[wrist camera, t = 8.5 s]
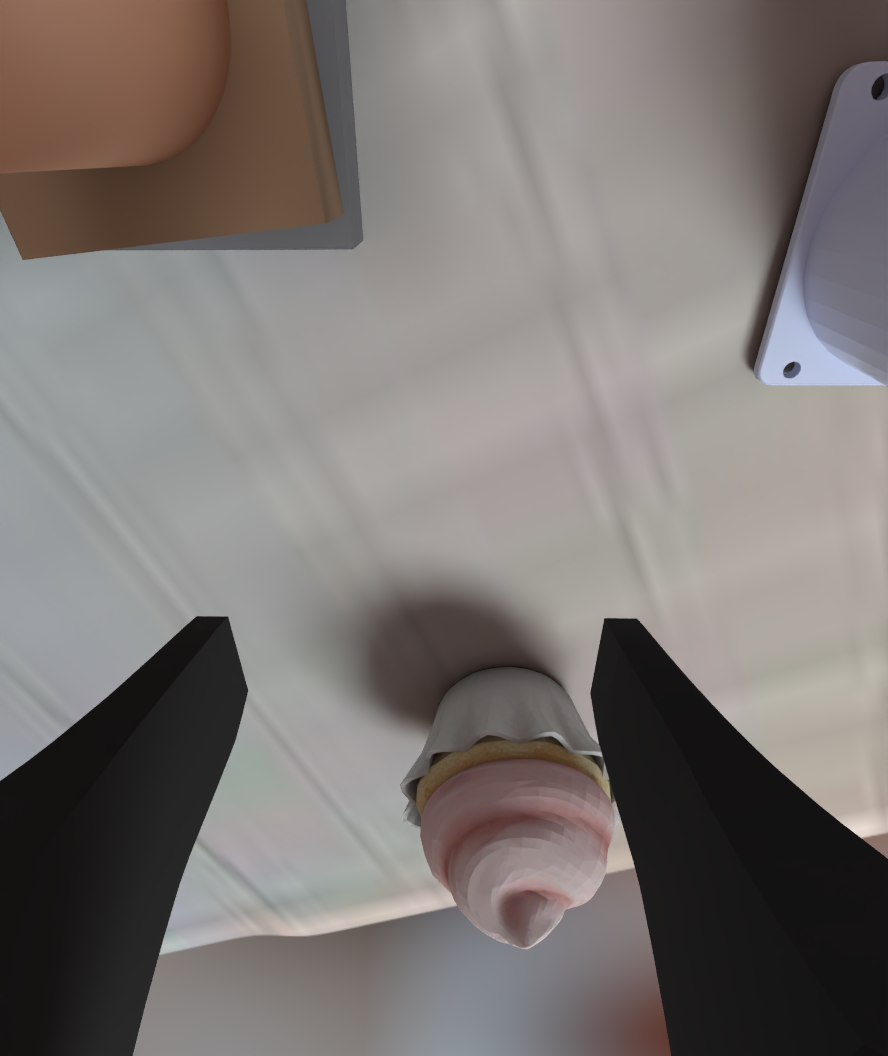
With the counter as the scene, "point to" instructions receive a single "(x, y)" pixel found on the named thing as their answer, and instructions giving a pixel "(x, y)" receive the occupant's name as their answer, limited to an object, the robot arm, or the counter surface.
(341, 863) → the counter surface
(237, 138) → the walnut slab
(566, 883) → the cupcake
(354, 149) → the charcoal slab
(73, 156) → the light brown short cylinder
